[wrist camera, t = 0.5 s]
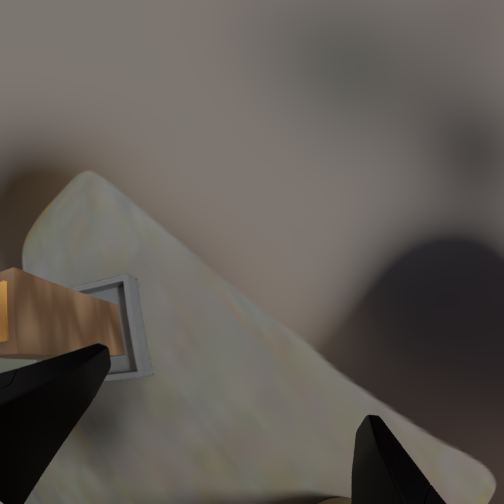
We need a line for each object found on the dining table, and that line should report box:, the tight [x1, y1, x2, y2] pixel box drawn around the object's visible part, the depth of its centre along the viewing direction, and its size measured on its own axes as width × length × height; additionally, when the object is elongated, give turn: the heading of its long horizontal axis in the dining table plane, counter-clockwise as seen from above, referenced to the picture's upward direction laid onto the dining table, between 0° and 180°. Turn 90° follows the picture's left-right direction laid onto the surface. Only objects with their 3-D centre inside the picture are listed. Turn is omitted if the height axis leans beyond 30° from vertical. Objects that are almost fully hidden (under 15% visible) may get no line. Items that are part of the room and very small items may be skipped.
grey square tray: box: [69, 274, 153, 381], centre depth 23 cm, size 9×9×2 cm
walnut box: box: [0, 267, 126, 360], centre depth 17 cm, size 4×4×13 cm
